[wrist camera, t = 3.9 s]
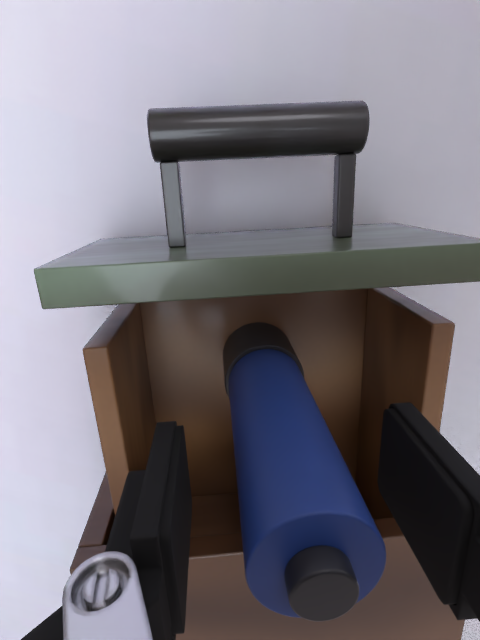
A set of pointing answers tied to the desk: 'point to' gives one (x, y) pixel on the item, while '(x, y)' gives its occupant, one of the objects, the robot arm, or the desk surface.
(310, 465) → the marker
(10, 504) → the desk surface
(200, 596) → the cabinet
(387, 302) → the drawer
